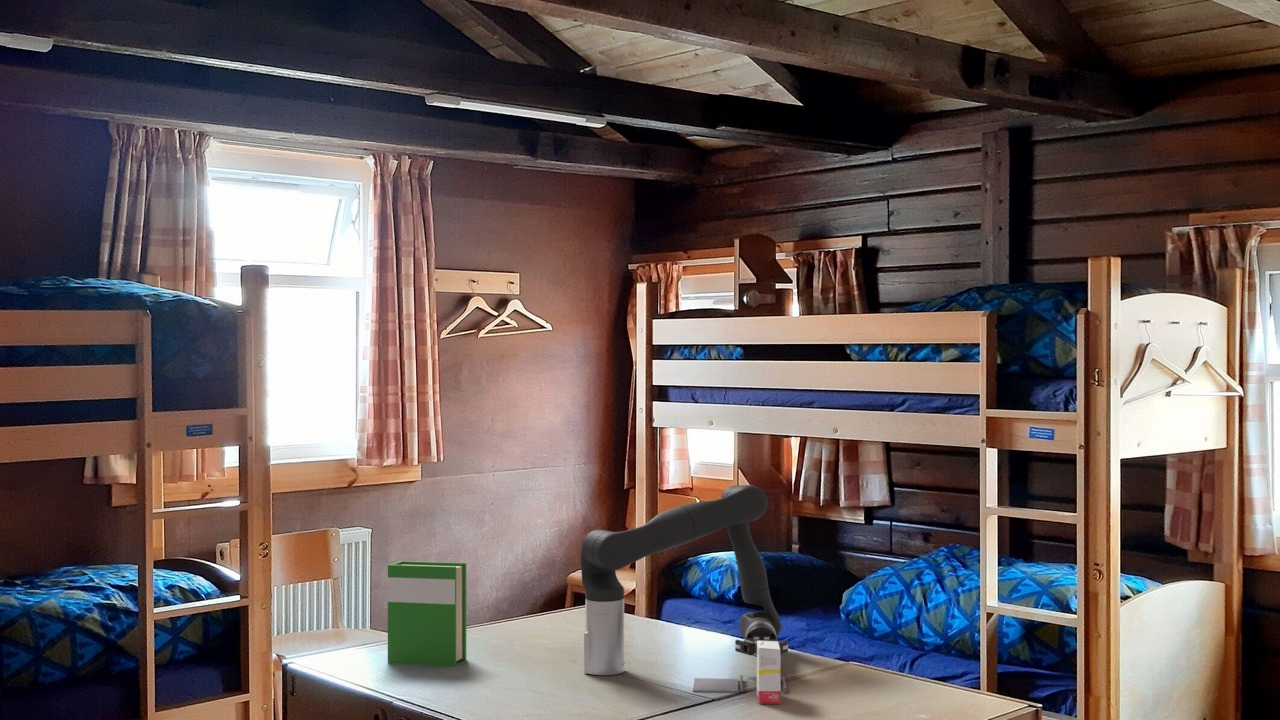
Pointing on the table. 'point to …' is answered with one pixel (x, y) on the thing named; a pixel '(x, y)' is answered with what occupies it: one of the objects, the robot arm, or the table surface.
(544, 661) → the table surface
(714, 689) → the grey flat slab
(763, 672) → the ink box
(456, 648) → the hardback book
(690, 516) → the robot arm
